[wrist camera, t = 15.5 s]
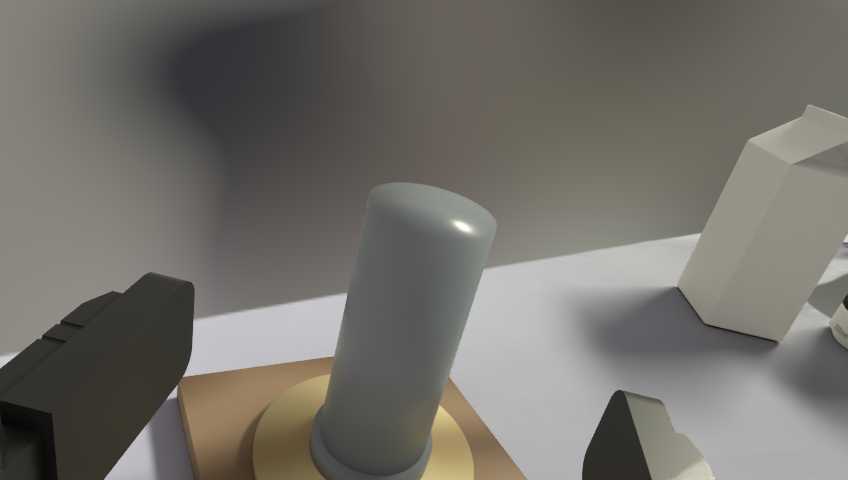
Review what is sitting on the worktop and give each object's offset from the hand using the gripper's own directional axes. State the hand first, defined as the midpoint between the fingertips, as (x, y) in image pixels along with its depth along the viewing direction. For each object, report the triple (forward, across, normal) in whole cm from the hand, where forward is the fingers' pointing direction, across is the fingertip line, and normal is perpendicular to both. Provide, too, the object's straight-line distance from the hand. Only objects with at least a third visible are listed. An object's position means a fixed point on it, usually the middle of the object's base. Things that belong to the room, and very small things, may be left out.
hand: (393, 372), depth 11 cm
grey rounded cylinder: (+11, 0, +13) cm, 17 cm away
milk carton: (+39, -28, +16) cm, 51 cm away
